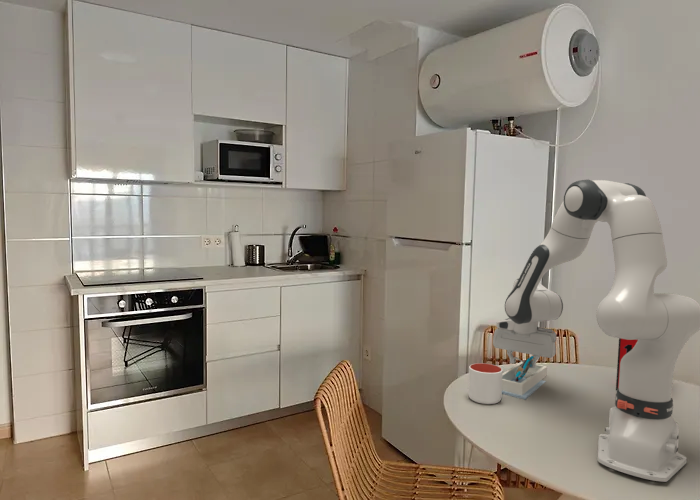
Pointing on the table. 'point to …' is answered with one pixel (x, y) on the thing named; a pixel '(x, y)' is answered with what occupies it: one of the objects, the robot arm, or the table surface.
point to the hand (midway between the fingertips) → (522, 365)
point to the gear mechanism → (523, 368)
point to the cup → (485, 383)
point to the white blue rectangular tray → (523, 381)
